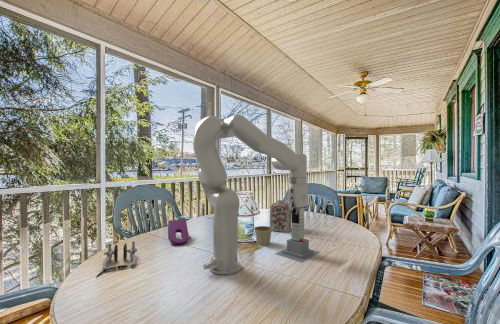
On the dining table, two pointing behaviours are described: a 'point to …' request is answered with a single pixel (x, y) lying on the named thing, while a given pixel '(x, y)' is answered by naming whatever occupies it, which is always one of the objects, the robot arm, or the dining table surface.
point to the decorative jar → (280, 216)
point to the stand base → (298, 250)
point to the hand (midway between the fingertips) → (297, 221)
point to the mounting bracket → (176, 227)
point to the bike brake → (115, 252)
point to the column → (298, 226)
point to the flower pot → (263, 235)
